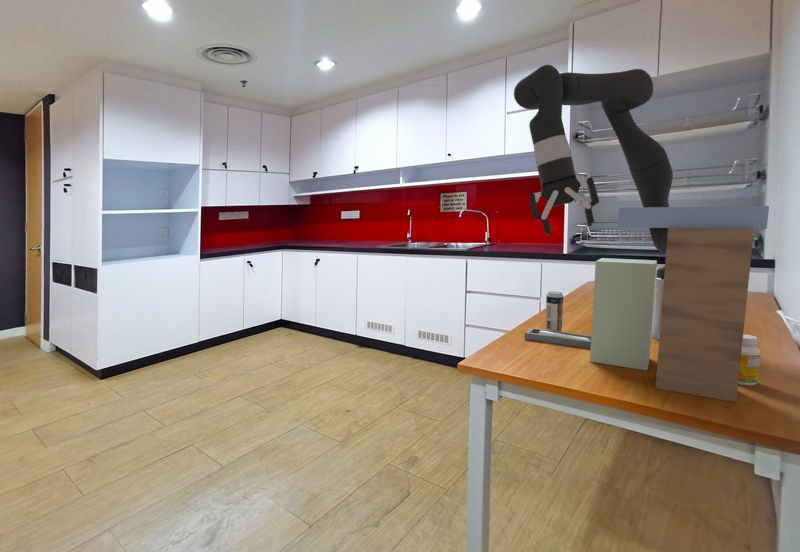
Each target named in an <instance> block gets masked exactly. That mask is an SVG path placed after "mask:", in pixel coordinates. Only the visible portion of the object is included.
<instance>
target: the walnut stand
mask: <svg viewBox="0 0 800 552" xmlns="http://www.w3.org/2000/svg"><path fill="white" fill-rule="evenodd" d="M754 233H755V229H729V228H668V236H667V249H666V253H665V261H664V262H665V264H664V265H665V274H664V287H663V299H662V312H661V325H660V337H659V341H658V350H657V351H658V352H657V354H658V355H657V363H656V365H657V366H656V377H655V389H658V390H664V391H670V392H674V393H675V392H676V393H682V394H688V395H693V396H699V397H705V398H710V399H715V400H721V401H727V402H732V403H733V402H734V403H737V400H738V399H737V398H738V389H739V384H738V380H739V370H740V361H741V351H742V341H743V334H744V333H745V332H744V329H745V321H746V311H747V301H748V300H747V299H748V291H749V282H750V273H751V263H752V262H751V261H752V254H753V253H752V252H753V243H754Z"/></svg>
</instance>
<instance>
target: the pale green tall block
mask: <svg viewBox="0 0 800 552" xmlns="http://www.w3.org/2000/svg"><path fill="white" fill-rule="evenodd" d="M657 265H658V260H656V259H655V260H651V259H634V258H633V259H632V258H631V259H629V258H627V259H626V258H612V257H611V258H606V257H602V258H599V259H597V260H595V266H594V269H595V270H594V284H593V299H592V300H593V303H592V320H591V334H590V335H591V349H590V353H589V362H590V363H591V362H592V363H598V364H603V365H611V366H615V367H616V366H617V367H623V368H629V369H634V370H642V371H648V369H649V363H650V358H651V345H652V325H653V313H654V300H655V286H656V273H657V269H658V268H657Z"/></svg>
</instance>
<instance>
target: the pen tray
mask: <svg viewBox="0 0 800 552" xmlns="http://www.w3.org/2000/svg"><path fill="white" fill-rule="evenodd" d="M539 331H547V332H553V333H559V334H565V335H571V336H577V337H583V338H588V339H589V340H590V341H588V340H581V339H573V338H566V337H558V336H551V335H544V334H539ZM524 340H528V341H535V342H542V343H550V344H558V345H563V346H564V345H565V346H570V347H576V348H577V347H578V348H584V349H590V350H591V334H582V333H575V332H567V331H553V330H545V328H544V329H543V328H538V327H530V328H529V329H528V330H527V331H525V332H524Z"/></svg>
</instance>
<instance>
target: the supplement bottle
mask: <svg viewBox="0 0 800 552" xmlns="http://www.w3.org/2000/svg"><path fill="white" fill-rule="evenodd" d="M756 345H758V337H757V336H756V335H751V334H747V333H743V341H742V351H741V361H740V370H739V380H738V385H742V386H755V385H757V384H758V379H759V377H758V376H759V371H760V370H759V369H760V362H761V361H760V359H761V350H760V349H759V348H758V346H756Z"/></svg>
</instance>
